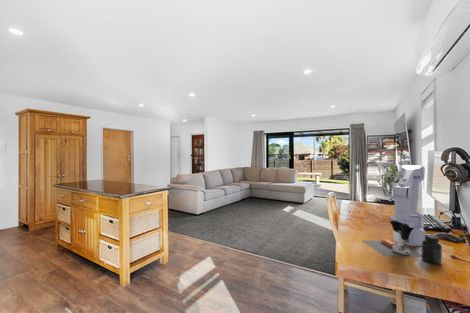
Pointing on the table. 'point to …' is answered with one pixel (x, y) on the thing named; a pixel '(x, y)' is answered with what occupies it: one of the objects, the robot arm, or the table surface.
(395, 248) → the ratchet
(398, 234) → the socket
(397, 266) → the table surface
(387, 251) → the mat
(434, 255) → the supplement bottle
